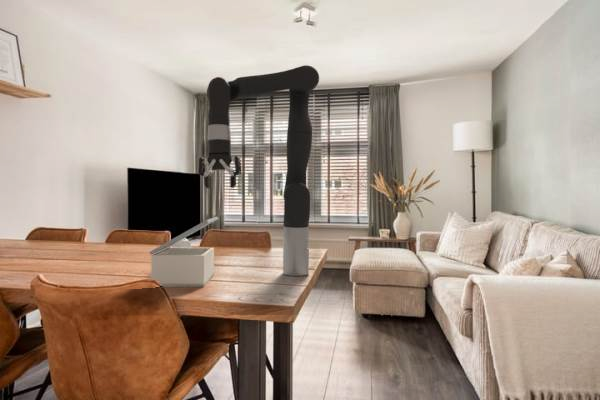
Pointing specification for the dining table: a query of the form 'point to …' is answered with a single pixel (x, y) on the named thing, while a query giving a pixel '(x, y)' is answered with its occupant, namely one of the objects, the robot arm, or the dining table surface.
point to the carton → (183, 267)
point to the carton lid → (184, 235)
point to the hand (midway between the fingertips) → (220, 188)
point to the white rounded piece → (182, 244)
